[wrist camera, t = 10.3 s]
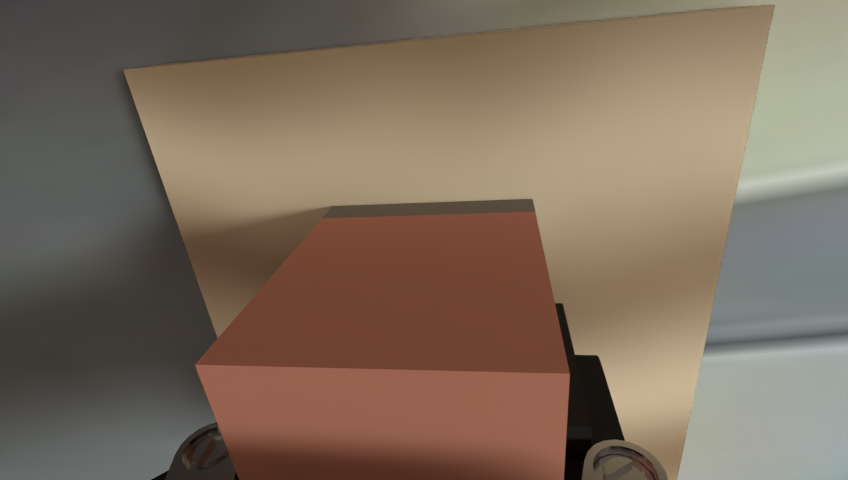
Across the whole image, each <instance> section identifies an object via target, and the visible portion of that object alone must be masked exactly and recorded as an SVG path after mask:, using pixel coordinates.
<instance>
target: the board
mask: <svg viewBox="0 0 848 480" xmlns="http://www.w3.org/2000/svg"><path fill="white" fill-rule="evenodd" d="M774 6H775V5H759V6H740V7H729V8H719V9H709V10H699V11H689V12H679V13H669V14H659V15H649V16H639V17H629V18H619V19H609V20H599V21H589V22H579V23H569V24H559V25H549V26H539V27H530V28H520V29H510V30H500V31H490V32H480V33H470V34H460V35H450V36H440V37H430V38H420V39H410V40H400V41H390V42H380V43H370V44H360V45H350V46H340V47H330V48H320V49H310V50H300V51H290V52H280V53H270V54H261V55H251V56H241V57H231V58H221V59H211V60H201V61H191V62H181V63H171V64H162V65H154V66H147V67H139V68H132V69H124V70H123V71H124V74H125V77H126V80H127V82H128V85H129V88H130V91H131V94H132V97H133V100H134V102H135V105H136V108H137V111H138V114H139V117H140V119H141V122H142V125H143V128H144V131H145V134H146V136H147V139H148V142H149V145H150V148H151V151H152V154H153V156H154V159H155V162H156V165H157V168H158V171H159V173H160V176H161V179H162V182H163V185H164V188H165V190H166V193H167V196H168V199H169V202H170V205H171V208H172V210H173V213H174V216H175V219H176V222H177V225H178V227H179V230H180V233H181V236H182V239H183V242H184V244H185V247H186V250H187V253H188V256H189V259H190V262H191V264H192V267H193V270H194V273H195V276H196V279H197V281H198V284H199V287H200V290H201V293H202V296H203V298H204V301H205V304H206V307H207V310H208V313H209V316H210V318H211V321H212V324H213V327H214V330H215V333H216V335H217V338H218V337H219V336H220V335H221V334H222V333H223V332H224V330H225V329H226V328H227V327H228V326H229V325H230V324H231V322H232V321H233V320H234V319H235V318H236V317H237V315H238V314H239V313H240V312H241V311H242V310H243V309H244V307H245V306H246V305H247V304H248V303H249V302H250V300H251V299H252V298H253V297H254V296H255V295H256V294H257V292H258V291H259V290H260V289H261V288H262V287H263V285H264V284H265V283H266V282H267V281H268V280H269V279H270V277H271V276H272V275H273V274H274V273H275V272H276V271H277V269H278V268H279V267H280V266H281V265H282V264H283V262H284V261H285V260H286V259H287V258H288V257H289V256H290V254H291V253H292V252H293V251H294V250H295V249H296V247H297V246H298V245H299V244H300V243H301V242H302V241H303V239H304V238H305V237H306V236H307V235H308V234H309V233H310V231H311V230H312V229H313V228H314V227H315V226H316V224H317V223H318V222H319V221H320V220H321V219H322V218H323V216H324V215H325V214H326V213H327V212H328V211H329V209H330V208H331V207H332V206H353V205H381V204H408V203H435V202H462V201H490V200H517V199H533V203H534V208H535V212H536V217H537V222H538V226H539V231H540V236H541V241H542V245H543V250H544V255H545V259H546V264H547V269H548V273H549V278H550V283H551V287H552V292H553V297H554V301H555V303H562V304H563V307H564V311H565V315H566V319H567V323H568V328H569V332H570V336H571V340H572V344H573V349H574V353H575V355H597V356H598V357H599V359H600V361H601V364H602V368H603V371H604V374H605V377H606V381H607V384H608V387H609V390H610V394H611V397H612V400H613V403H614V407H615V410H616V413H617V416H618V420H619V423H620V426H621V429H622V433H623V436H624V439H625V441H628V442H631V443H633V444H636V445H639V446H640V447H642V448H644V449H645V450H647V451H648V452H650V453H651V454H652V455H653V456H654V457H655V458H656V459H657V460H658V461H659V462H660V463H661V465H662V466H663V468H664V470H665V471H666V474H667V478H668V480H677V477H678V472H679V467H680V462H681V458H682V453H683V448H684V443H685V438H686V433H687V428H688V424H689V419H690V414H691V409H692V404H693V399H694V394H695V390H696V385H697V380H698V375H699V370H700V365H701V360H702V356H703V351H704V346H705V341H706V336H707V331H708V326H709V322H710V317H711V312H712V307H713V302H714V297H715V292H716V288H717V283H718V278H719V273H720V268H721V263H722V258H723V254H724V249H725V244H726V239H727V234H728V229H729V224H730V220H731V215H732V210H733V205H734V200H735V195H736V190H737V186H738V181H739V176H740V171H741V166H742V161H743V156H744V152H745V147H746V142H747V137H748V132H749V127H750V122H751V118H752V113H753V108H754V103H755V98H756V93H757V88H758V84H759V79H760V74H761V69H762V64H763V59H764V54H765V50H766V45H767V40H768V35H769V30H770V25H771V20H772V16H773V11H774Z"/></svg>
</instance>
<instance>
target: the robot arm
mask: <svg viewBox="0 0 848 480" xmlns="http://www.w3.org/2000/svg"><path fill="white" fill-rule="evenodd" d="M555 306H556V311H557V315H558V320H559V325H560V330H561V334H562V339H563V344H564V348H565V353H566V358H567V362H568V367H569V372H570V382H569V399H568V416H567V434H566V451H565V469H564V480H668V478H667V474H666V471H665V470H664V468H663V466H662V465H661V463H660V462H659V461H658V460H657V459H656V458H655V457H654V456H653V455H652V454H651V453H650V452H648V451H647V450H645V449H644V448H642V447H640V446H639V445H636V444H633V443H631V442H628V441H625V439H624V436H623V433H622V429H621V426H620V423H619V420H618V416H617V413H616V410H615V407H614V403H613V400H612V397H611V394H610V390H609V387H608V384H607V381H606V377H605V374H604V371H603V368H602V364H601V361H600V359H599V357H598V356H597V355H575V353H574V349H573V344H572V340H571V336H570V332H569V328H568V323H567V319H566V315H565V311H564V307H563V304H562V303H555ZM152 480H239V478H238V475H237V473H236V470H235V468H234V465H233V463H232V460H231V457H230V455H229V452H228V450H227V447H226V444H225V442H224V439H223V437H222V434H221V431H220V429H219V426H218V424H217V422H216V423H213V424H209V425H207V426H205V427H203V428H201V429H199V430H197V431H196V432H194V433H193V434H192V435H190V436H189V437H188V438H187V439H186V440H185V441H184V442H183V443H182V444H181V445H180V447H179V449H178V450H177V452H176V454H175V456H174V459H173V461H172V464H171V466H170V468H169V470H168V471H167V472H165V473H163V474H161V475H159V476H157V477H155V478H154V479H152Z"/></svg>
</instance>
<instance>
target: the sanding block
mask: <svg viewBox="0 0 848 480" xmlns="http://www.w3.org/2000/svg"><path fill="white" fill-rule="evenodd" d="M195 367H196V369H197V372H198V374H199V377H200V380H201V382H202V385H203V387H204V390H205V393H206V395H207V398H208V400H209V403H210V406H211V408H212V411H213V413H214V416H215V418H216V421H217V424H218V426H219V429H220V431H221V434H222V437H223V439H224V442H225V444H226V447H227V450H228V452H229V455H230V457H231V460H232V463H233V465H234V468H235V470H236V473H237V475H238V478H239V480H564V469H565V451H566V434H567V416H568V399H569V382H570V372H569V367H568V362H567V358H566V353H565V348H564V344H563V339H562V334H561V330H560V325H559V320H558V315H557V311H556V306H555V301H554V297H553V292H552V287H551V283H550V278H549V273H548V269H547V264H546V259H545V255H544V250H543V245H542V241H541V236H540V231H539V226H538V222H537V217H536V212H535V208H534V203H533V199H517V200H490V201H462V202H435V203H408V204H381V205H353V206H332V207H331V208H330V209H329V211H328V212H327V213H326V214H325V215H324V216H323V218H322V219H321V220H320V221H319V222H318V223H317V224H316V226H315V227H314V228H313V229H312V230H311V231H310V233H309V234H308V235H307V236H306V237H305V238H304V239H303V241H302V242H301V243H300V244H299V245H298V246H297V247H296V249H295V250H294V251H293V252H292V253H291V254H290V256H289V257H288V258H287V259H286V260H285V261H284V262H283V264H282V265H281V266H280V267H279V268H278V269H277V271H276V272H275V273H274V274H273V275H272V276H271V277H270V279H269V280H268V281H267V282H266V283H265V284H264V285H263V287H262V288H261V289H260V290H259V291H258V292H257V294H256V295H255V296H254V297H253V298H252V299H251V300H250V302H249V303H248V304H247V305H246V306H245V307H244V309H243V310H242V311H241V312H240V313H239V314H238V315H237V317H236V318H235V319H234V320H233V321H232V322H231V324H230V325H229V326H228V327H227V328H226V329H225V330H224V332H223V333H222V334H221V335H220V336H219V337H218V338H217V340H216V341H215V342H214V343H213V344H212V345H211V347H210V348H209V349H208V350H207V351H206V352H205V353H204V355H203V356H202V357H201V358H200V359H199V360H198V362H197V363H196V364H195Z"/></svg>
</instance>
